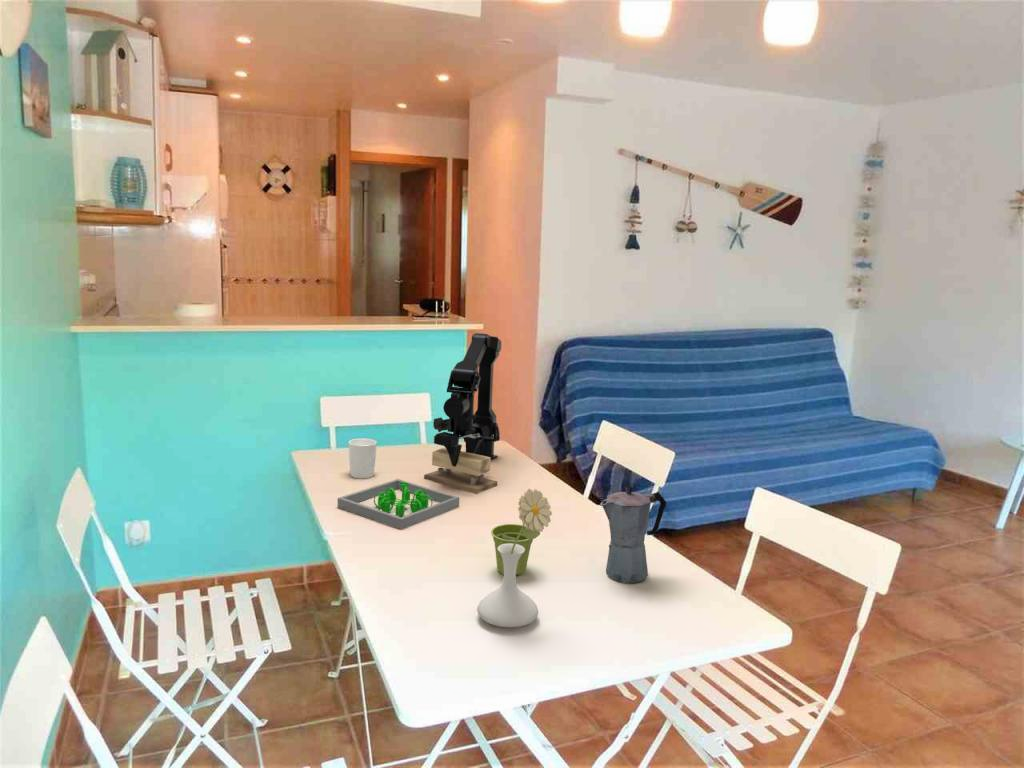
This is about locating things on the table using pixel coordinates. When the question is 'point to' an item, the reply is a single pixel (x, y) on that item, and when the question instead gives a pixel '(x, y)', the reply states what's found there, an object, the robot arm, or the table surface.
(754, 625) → the table surface
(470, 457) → the beige wooden block
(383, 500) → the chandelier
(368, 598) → the table surface
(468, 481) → the peg stand
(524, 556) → the plant pot
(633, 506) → the moka pot
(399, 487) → the toy tray rim
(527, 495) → the flower in vase
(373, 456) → the white cup
